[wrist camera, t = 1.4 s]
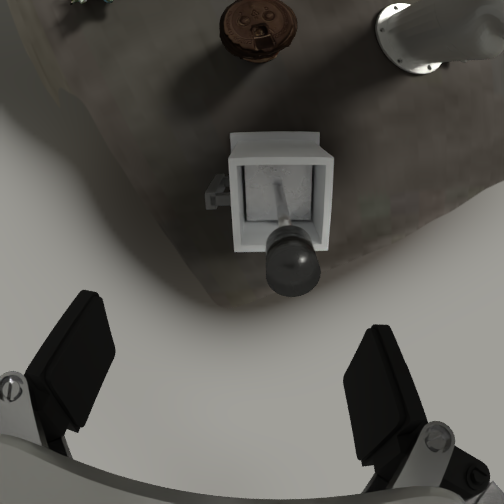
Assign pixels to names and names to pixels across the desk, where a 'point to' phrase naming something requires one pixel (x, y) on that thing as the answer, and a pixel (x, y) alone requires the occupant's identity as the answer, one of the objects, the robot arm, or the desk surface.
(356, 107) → the desk surface
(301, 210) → the plunger
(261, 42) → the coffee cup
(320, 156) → the press housing
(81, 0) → the passion flower
